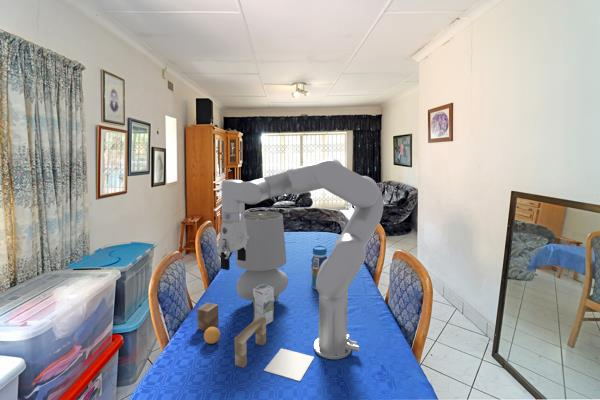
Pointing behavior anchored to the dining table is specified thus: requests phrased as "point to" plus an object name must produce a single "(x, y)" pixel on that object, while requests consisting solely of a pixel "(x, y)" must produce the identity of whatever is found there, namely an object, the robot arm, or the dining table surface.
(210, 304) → the brown block
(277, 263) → the table lamp
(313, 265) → the beverage bottle
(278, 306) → the dining table surface
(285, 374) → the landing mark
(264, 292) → the syrup box
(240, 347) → the bridge
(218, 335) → the ball
